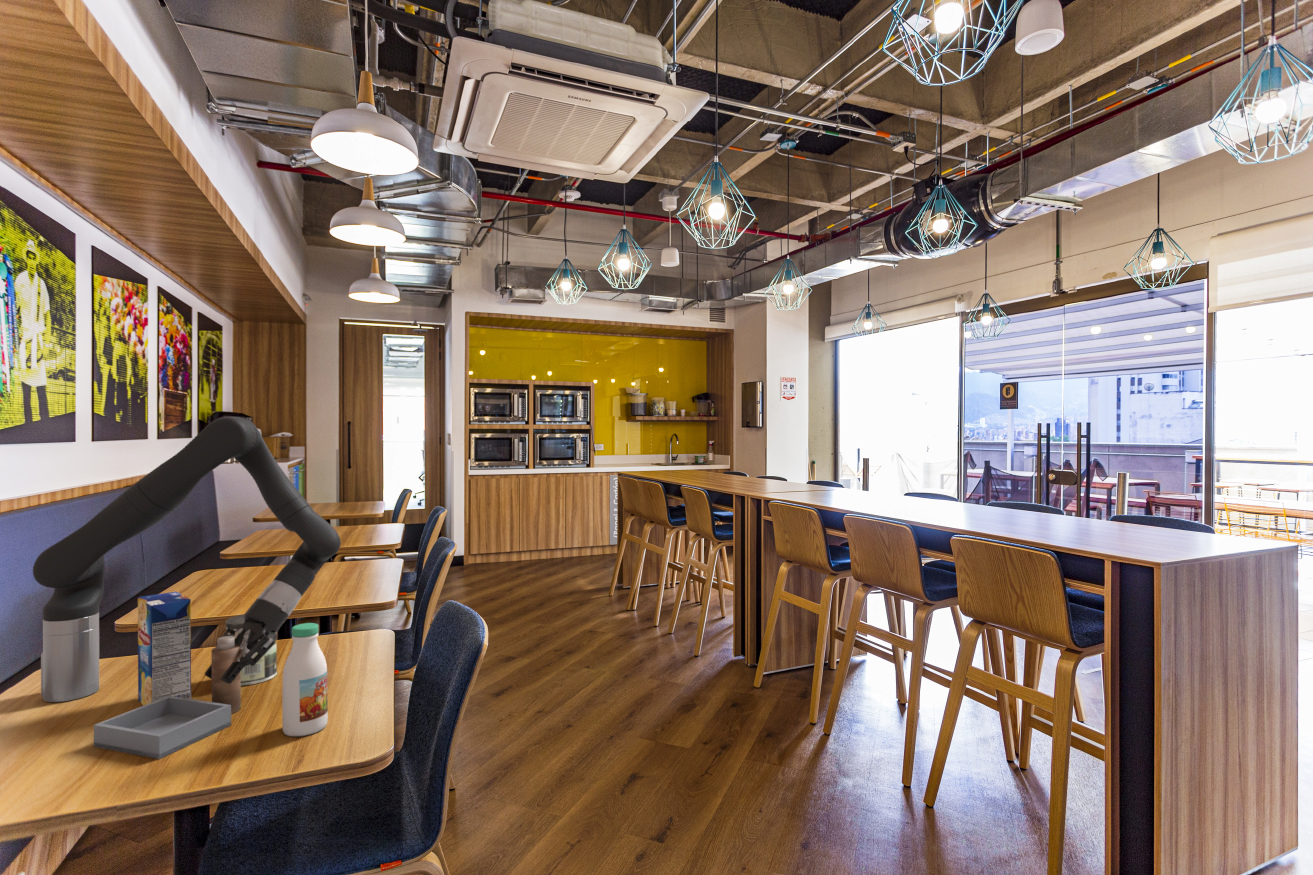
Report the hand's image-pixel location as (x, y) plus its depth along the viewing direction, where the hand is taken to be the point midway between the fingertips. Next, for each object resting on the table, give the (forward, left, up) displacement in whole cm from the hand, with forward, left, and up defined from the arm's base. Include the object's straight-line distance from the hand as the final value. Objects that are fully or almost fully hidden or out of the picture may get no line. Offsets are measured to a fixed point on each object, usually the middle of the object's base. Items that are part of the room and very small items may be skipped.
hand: (217, 678), depth 135 cm
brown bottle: (0, +2, -7) cm, 7 cm away
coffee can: (-11, +18, -7) cm, 22 cm away
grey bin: (-1, -10, -7) cm, 13 cm away
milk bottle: (+22, 0, -7) cm, 23 cm away
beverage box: (-17, +2, -7) cm, 18 cm away
